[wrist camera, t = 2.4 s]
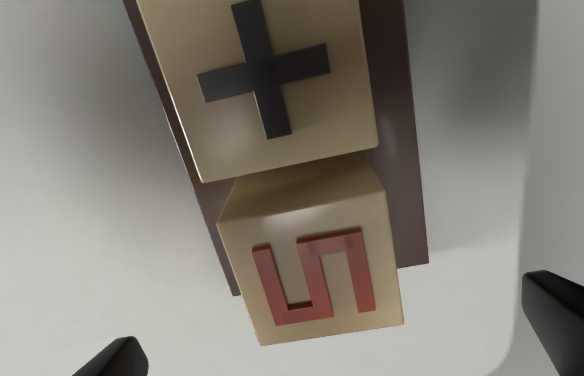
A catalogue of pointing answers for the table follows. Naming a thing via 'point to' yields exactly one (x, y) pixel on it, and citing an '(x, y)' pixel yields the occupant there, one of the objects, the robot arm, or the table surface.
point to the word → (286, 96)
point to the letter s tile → (313, 249)
